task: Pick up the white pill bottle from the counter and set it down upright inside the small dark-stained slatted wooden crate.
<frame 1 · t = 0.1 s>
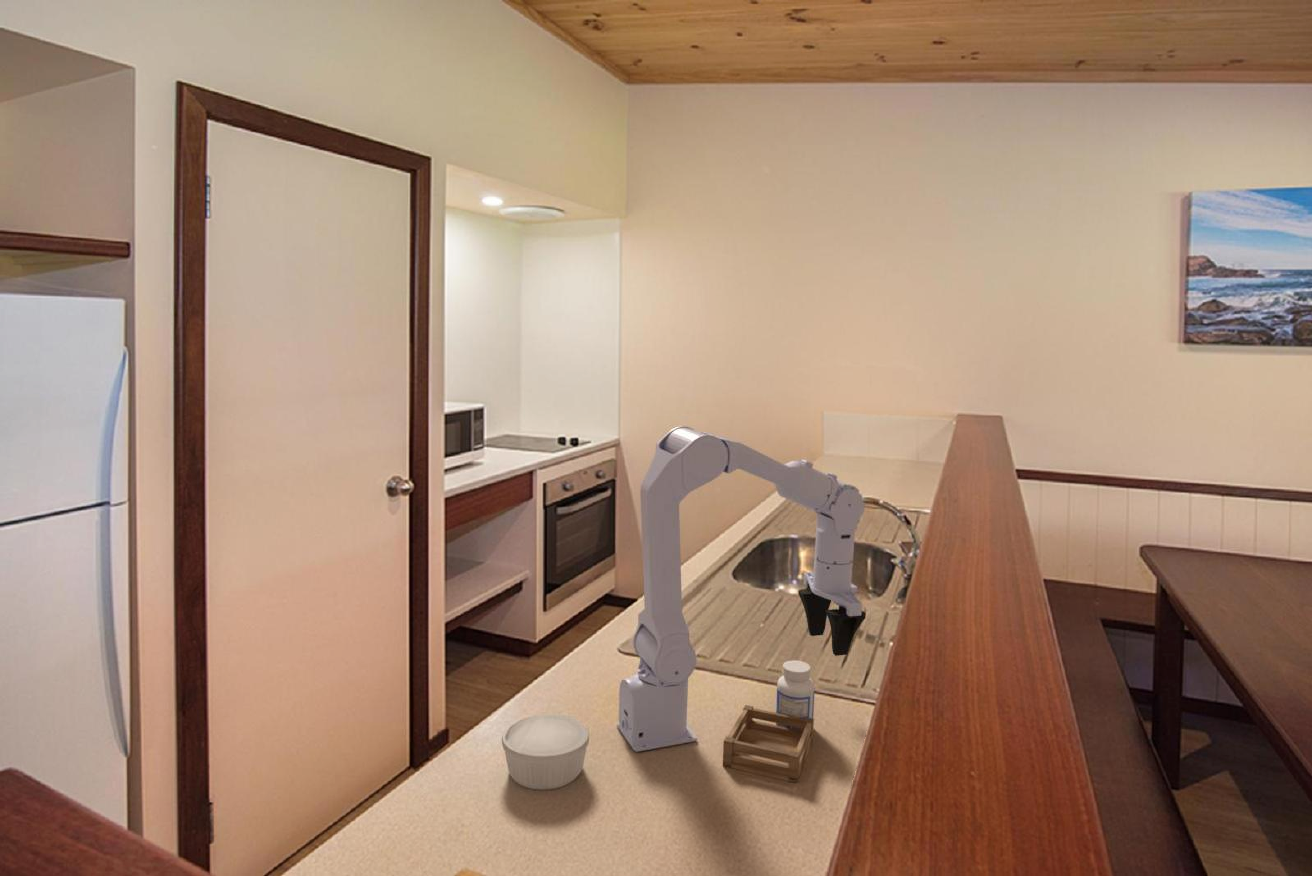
hand: (827, 644, 125), 10 cm above the worktop, tool pointing down, fingers open, 7 cm apart
crate: (768, 753, 112), on the worktop
pill bottle: (793, 729, 119), on the worktop
ramekin: (545, 772, 106), on the worktop
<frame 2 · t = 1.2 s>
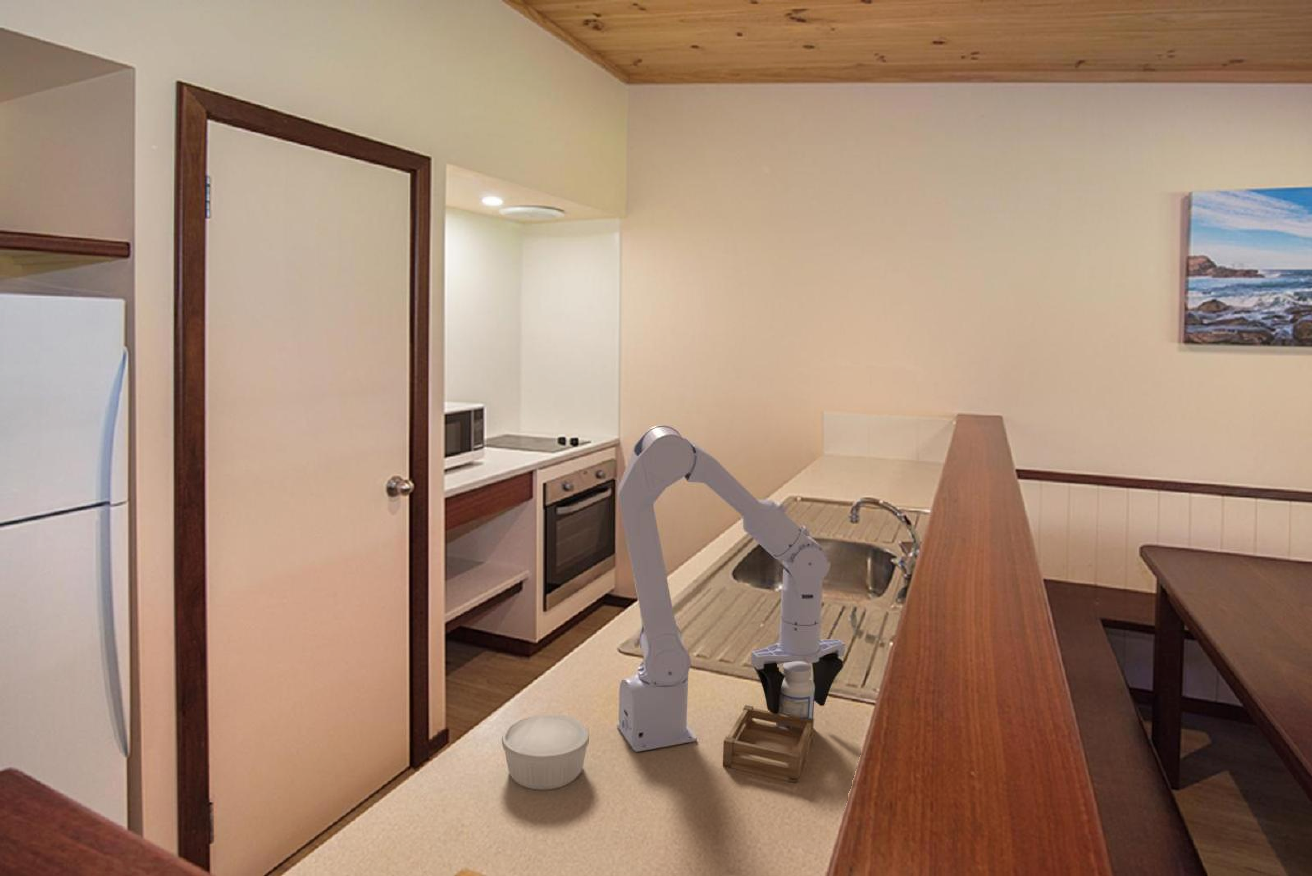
hand: (796, 707, 118), 3 cm above the worktop, tool pointing down, fingers open, 7 cm apart
nothing on the worktop moved.
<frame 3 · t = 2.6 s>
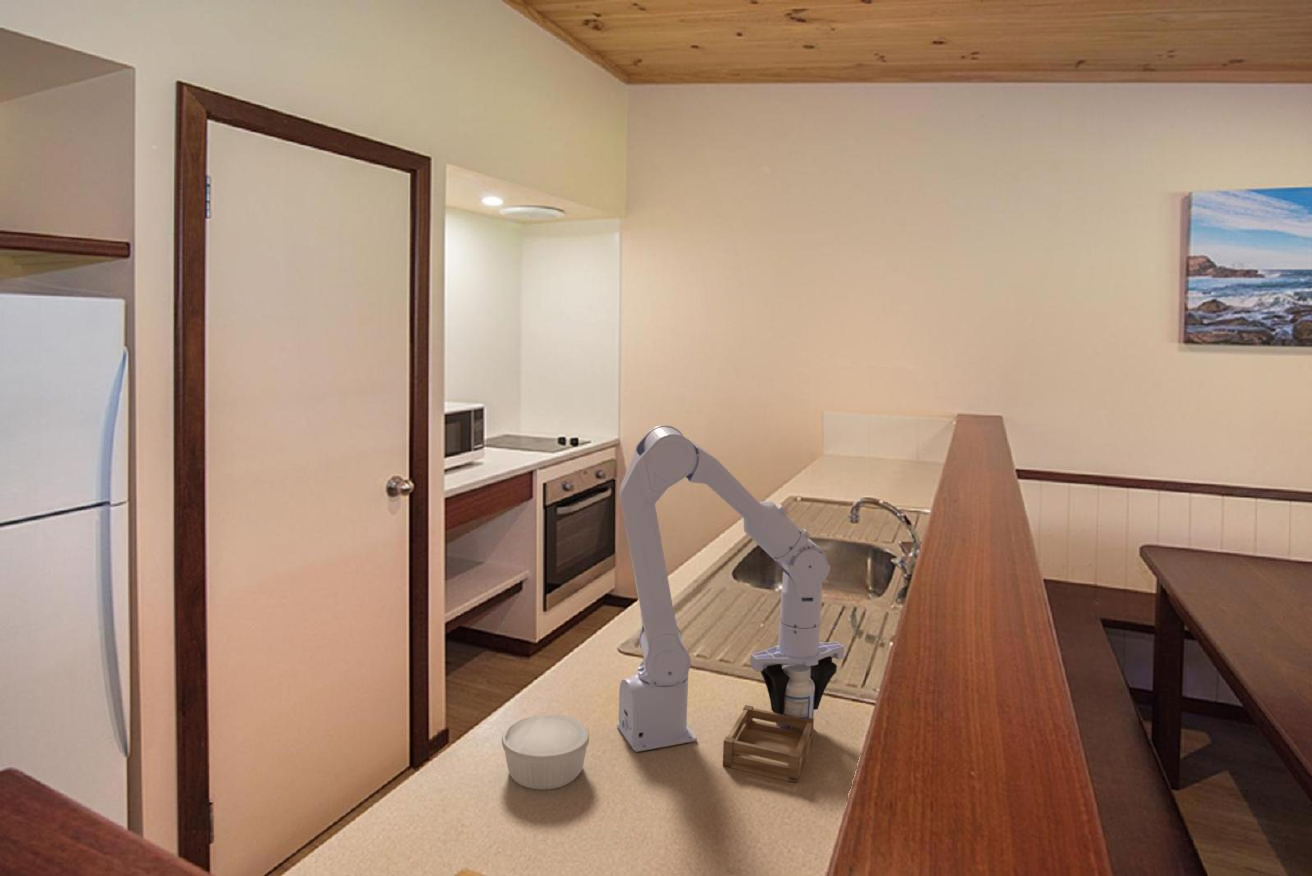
hand: (794, 709, 118), 3 cm above the worktop, tool pointing down, fingers closed on pill bottle, 5 cm apart
pill bottle: (793, 729, 119), on the worktop, touching gripper
everything else where it was.
when the fingers open (5 cm above the worktop, at t = 5.8 s): pill bottle drops 1 cm, resting on crate.
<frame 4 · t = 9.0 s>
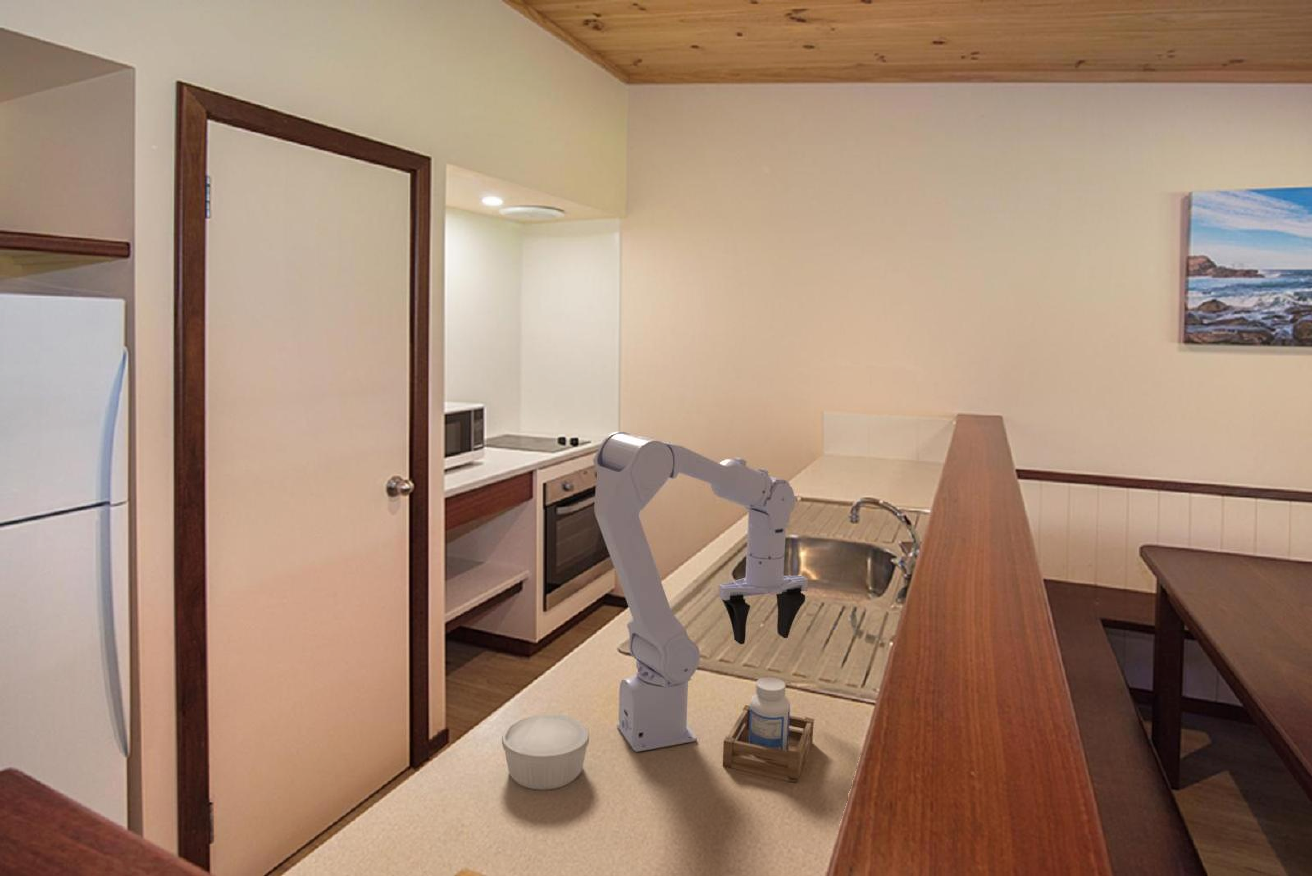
hand: (761, 638, 125), 10 cm above the worktop, tool pointing down, fingers open, 7 cm apart
pill bottle: (768, 751, 112), resting on crate
everything else where it was.
at the end: pill bottle inside the target area on the crate (0.1 cm from its centre), point 0.4 cm above the crate's base; pill bottle tilted 0°; the gripper is holding nothing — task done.
